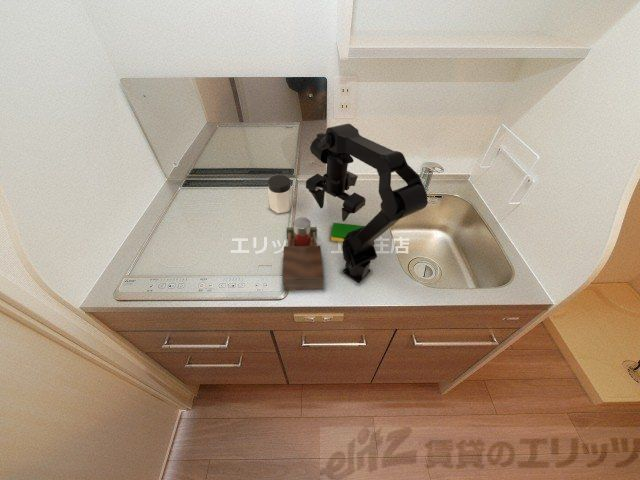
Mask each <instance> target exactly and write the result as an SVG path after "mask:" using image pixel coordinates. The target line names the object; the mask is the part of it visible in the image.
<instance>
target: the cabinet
mask: <svg viewBox="0 0 640 480" xmlns="http://www.w3.org/2000/svg"><path fill="white" fill-rule="evenodd" d="M282 285H283V291H284V292H289V291H290V292H293V291H316V290H317V291H319V290H320V291H321V290H322V291H323V289H324V288H323V287H324V268H323V259H322V248H321V245H316V246H288V245H285V246H284V245H283V263H282Z"/></svg>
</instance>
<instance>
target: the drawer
mask: <svg viewBox="0 0 640 480" xmlns="http://www.w3.org/2000/svg"><path fill="white" fill-rule="evenodd" d="M292 226H293V227H291V226H289V227H286V239H287V246H294V221H292ZM317 234H318V227H317V226H310V246H317V238H318V237H317Z"/></svg>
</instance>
